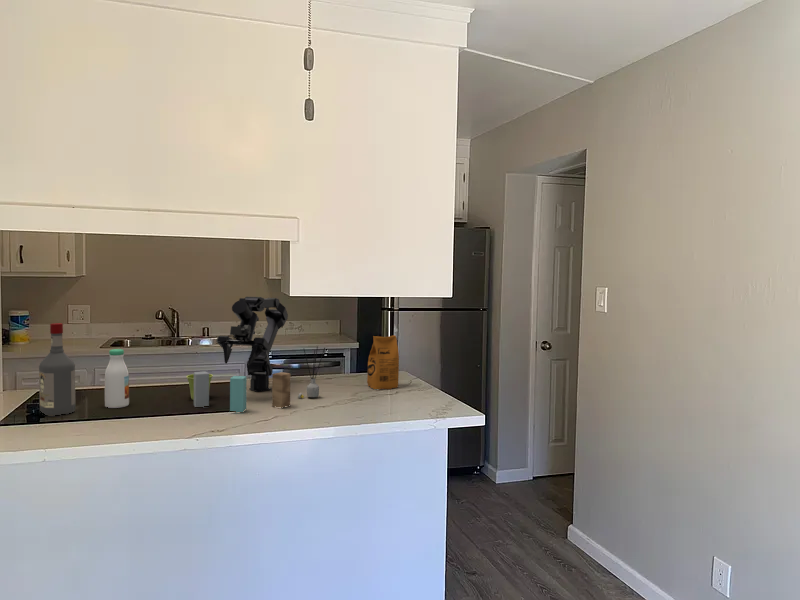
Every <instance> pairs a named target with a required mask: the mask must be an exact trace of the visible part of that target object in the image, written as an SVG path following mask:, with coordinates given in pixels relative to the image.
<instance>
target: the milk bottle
mask: <svg viewBox="0 0 800 600" xmlns="http://www.w3.org/2000/svg"><path fill="white" fill-rule="evenodd" d="M124 353H125V350H124V349H123V348H122V349H121V348H115V349H110V350H109V354H108V355H109V362H108V364H107V367H106V368H105V371H104V373H105V374H104V407H105V408H107V407H108V409H117V408H118V409H119V408H125V407H128V406H129V404H130V378H129V377H130V376H129V369H128V367H127V365H126V363H125V360H124V356H125V355H124Z"/></svg>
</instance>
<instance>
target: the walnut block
mask: <svg viewBox="0 0 800 600" xmlns="http://www.w3.org/2000/svg"><path fill="white" fill-rule="evenodd" d="M271 377H272V378H271V379H272V381H271V382H272V383H271V384H272V385H271V386H272V388H271V390H272V391H271V393H272V394H271V395H272V397H271V401H272V402H271V407H272V406H276V407H281V408H282V407H285V406H289V405H290V406H291V373H289V372H283V371H281V372H276V373H272V375H271Z"/></svg>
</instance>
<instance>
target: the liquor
mask: <svg viewBox="0 0 800 600" xmlns="http://www.w3.org/2000/svg"><path fill="white" fill-rule="evenodd" d="M63 326H64V324H63V323H62V322H61V323H59V322H58V323H50V324H49V328H50V329H49V330H50V331H49V332H50V333H49V334H50V349H49V353H48V354H47V355H46V356H45V357H44V358H43V359H42V360H41V362H40V363H39V365H38V380H39V382H38V383H39V385H38V387H39V391H38V392H39V412H40V411H41V412H42V413H44V414H45V415H53V416H52V417H56V416H55V415H60V416H62V415H61V414H66V415H70V414H69V413H71V414H73V413H74V412H75V410H76V364H75V362H74V360H72V359H71V358H70V357H69V356H68V355H67V353H65V350H64V347H63V346H64V343H63V341H64V340H63V334H64V327H63ZM41 412H40V413H41ZM72 412H73V413H72ZM45 415H44V416H45Z"/></svg>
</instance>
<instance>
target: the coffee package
mask: <svg viewBox="0 0 800 600" xmlns="http://www.w3.org/2000/svg"><path fill="white" fill-rule="evenodd" d="M372 338H373V339H372V340H373V343H372V345H371V349H370V351H369V355H368V360H367V376H366V377H367V378H366V379H367V380H366V383H367V386H368V387H369V386H370V387H369V388H371V389H372V388H373V389H372V390H374V389H379V390H391V389H392V388H393V389H396V388H398V387H399V375H400V373H399V372H400V371H399V370H400V364H399V363H400V354H399V346H398V340H397V339H398V338H397V336H396V335H395V334H394V335H389V336H379V335H377V336H374V335H373V336H372Z"/></svg>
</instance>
